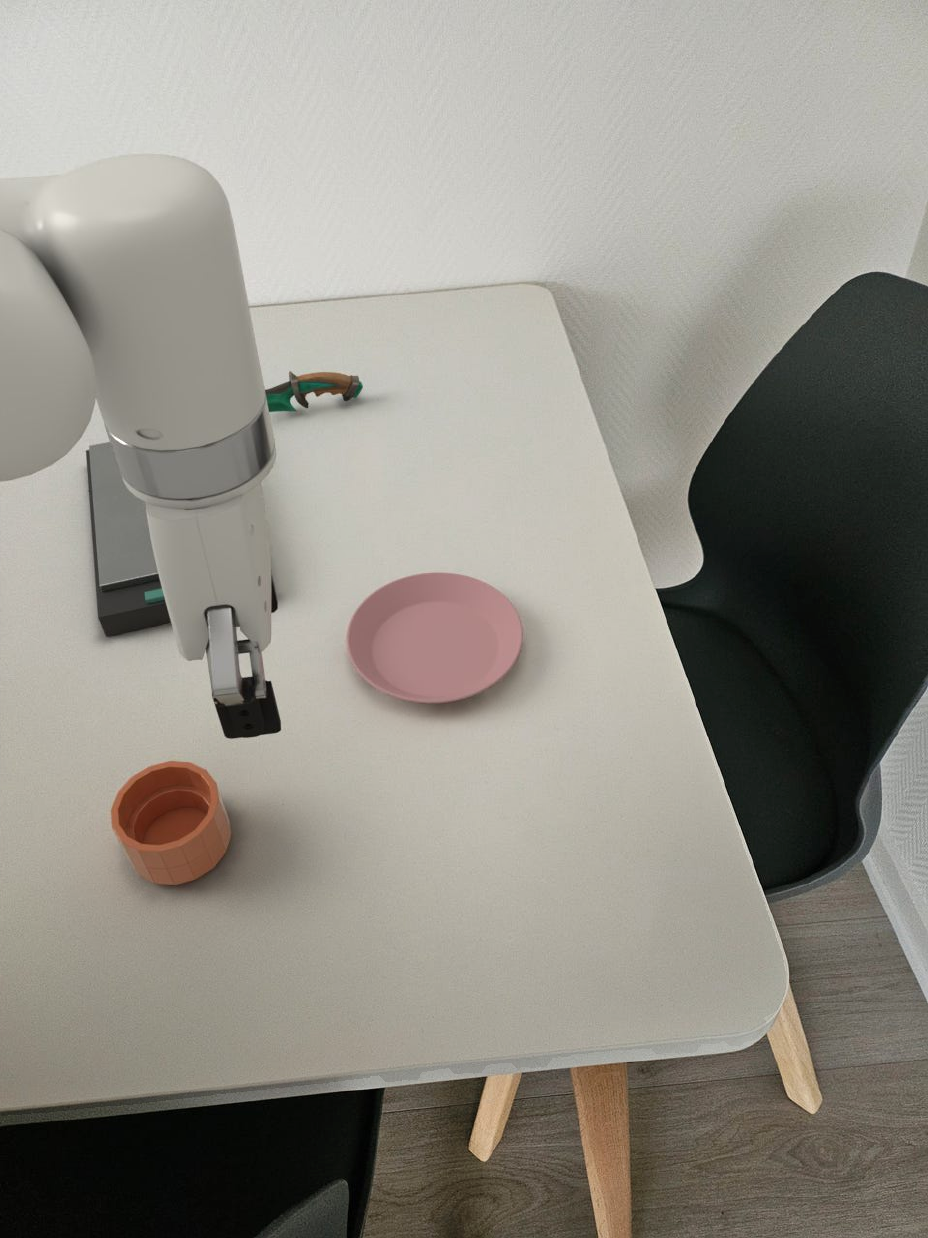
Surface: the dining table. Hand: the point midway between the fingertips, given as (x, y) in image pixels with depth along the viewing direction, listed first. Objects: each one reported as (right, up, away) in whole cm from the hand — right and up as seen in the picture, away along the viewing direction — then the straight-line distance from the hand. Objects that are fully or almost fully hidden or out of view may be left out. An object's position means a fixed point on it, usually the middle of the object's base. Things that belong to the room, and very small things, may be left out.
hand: (253, 668), depth 60 cm
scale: (-14, +11, +32) cm, 37 cm away
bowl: (-7, -13, +9) cm, 17 cm away
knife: (-8, +24, +44) cm, 51 cm away
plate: (+10, 0, +21) cm, 24 cm away
